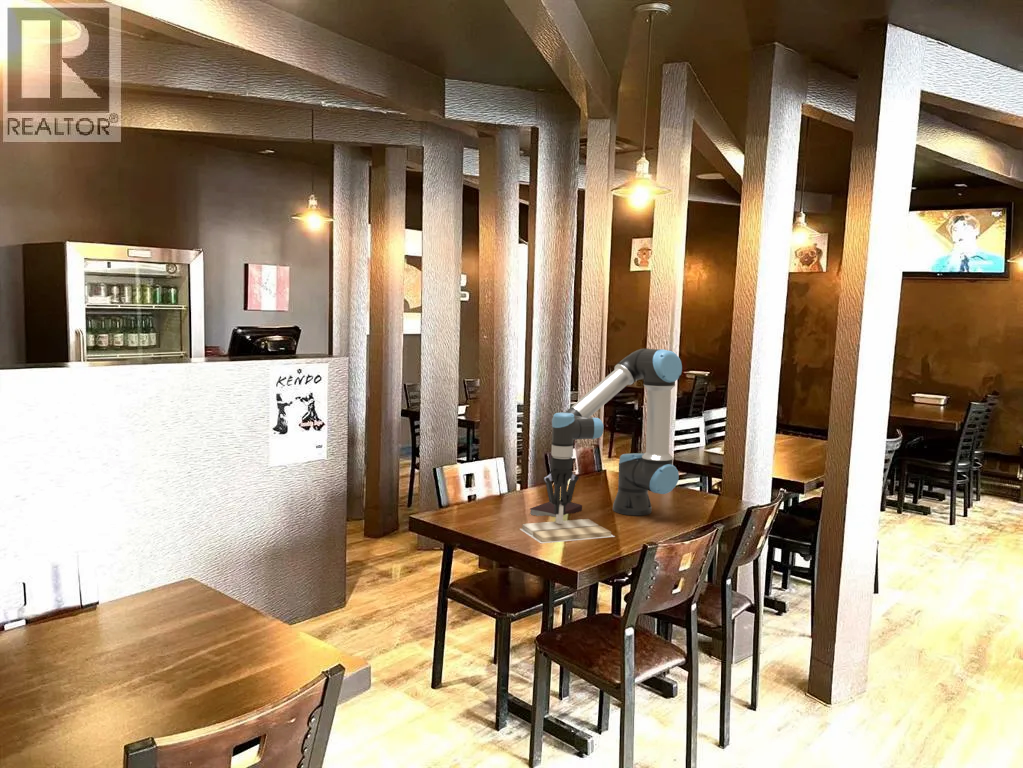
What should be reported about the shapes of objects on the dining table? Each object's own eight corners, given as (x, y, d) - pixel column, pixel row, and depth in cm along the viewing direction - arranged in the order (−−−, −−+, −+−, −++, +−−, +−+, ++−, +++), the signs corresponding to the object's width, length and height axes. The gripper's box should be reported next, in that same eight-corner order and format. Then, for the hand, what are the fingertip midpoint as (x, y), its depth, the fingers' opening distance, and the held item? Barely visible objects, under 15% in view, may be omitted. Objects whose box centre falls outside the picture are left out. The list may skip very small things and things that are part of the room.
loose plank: (587, 522, 274) (588, 518, 274) (598, 529, 266) (598, 525, 266) (522, 528, 264) (522, 524, 264) (531, 535, 257) (531, 530, 256)
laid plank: (600, 530, 265) (600, 526, 265) (611, 536, 258) (611, 531, 258) (533, 536, 255) (533, 531, 255) (542, 542, 248) (542, 537, 248)
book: (582, 512, 297) (582, 503, 297) (556, 521, 281) (556, 512, 281) (555, 506, 304) (555, 499, 304) (528, 515, 288) (529, 507, 288)
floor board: (589, 525, 274) (590, 523, 274) (614, 539, 258) (615, 536, 258) (519, 531, 264) (519, 528, 264) (540, 546, 247) (540, 543, 247)
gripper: (573, 454, 270) (570, 519, 272) (540, 455, 265) (538, 521, 267) (583, 458, 263) (580, 524, 265) (549, 459, 258) (547, 527, 260)
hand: (559, 522), depth 266 cm, fingers closed
